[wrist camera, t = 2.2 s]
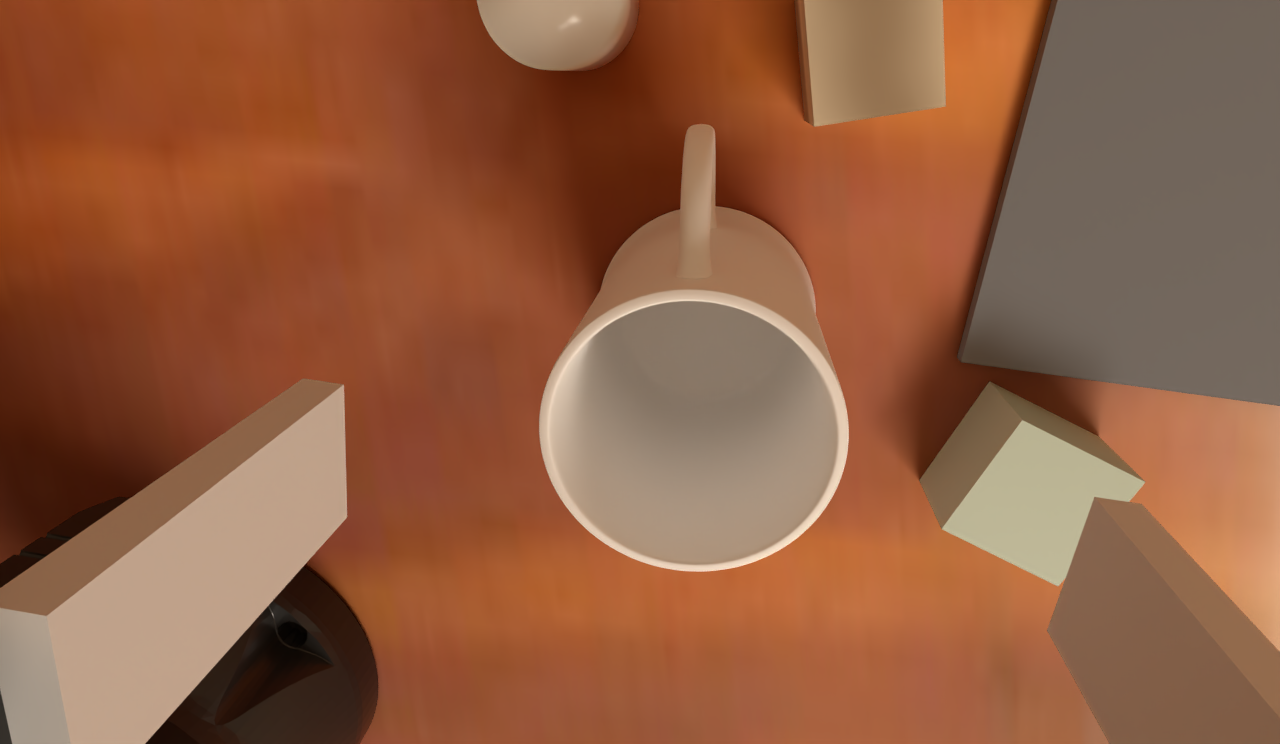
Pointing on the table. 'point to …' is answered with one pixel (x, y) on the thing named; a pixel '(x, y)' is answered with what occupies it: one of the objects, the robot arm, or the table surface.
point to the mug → (697, 390)
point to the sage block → (1023, 482)
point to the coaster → (1142, 203)
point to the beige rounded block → (561, 31)
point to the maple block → (869, 58)
